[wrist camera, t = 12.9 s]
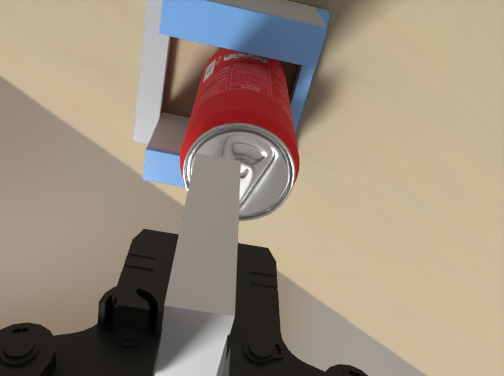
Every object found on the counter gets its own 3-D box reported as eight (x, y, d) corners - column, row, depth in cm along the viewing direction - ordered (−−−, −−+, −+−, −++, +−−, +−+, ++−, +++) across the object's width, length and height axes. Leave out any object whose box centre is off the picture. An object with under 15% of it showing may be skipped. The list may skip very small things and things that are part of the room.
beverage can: (298, 56, 29) (322, 144, 19) (266, 128, 31) (272, 239, 21) (219, 25, 28) (198, 99, 18) (192, 101, 30) (162, 204, 20)
